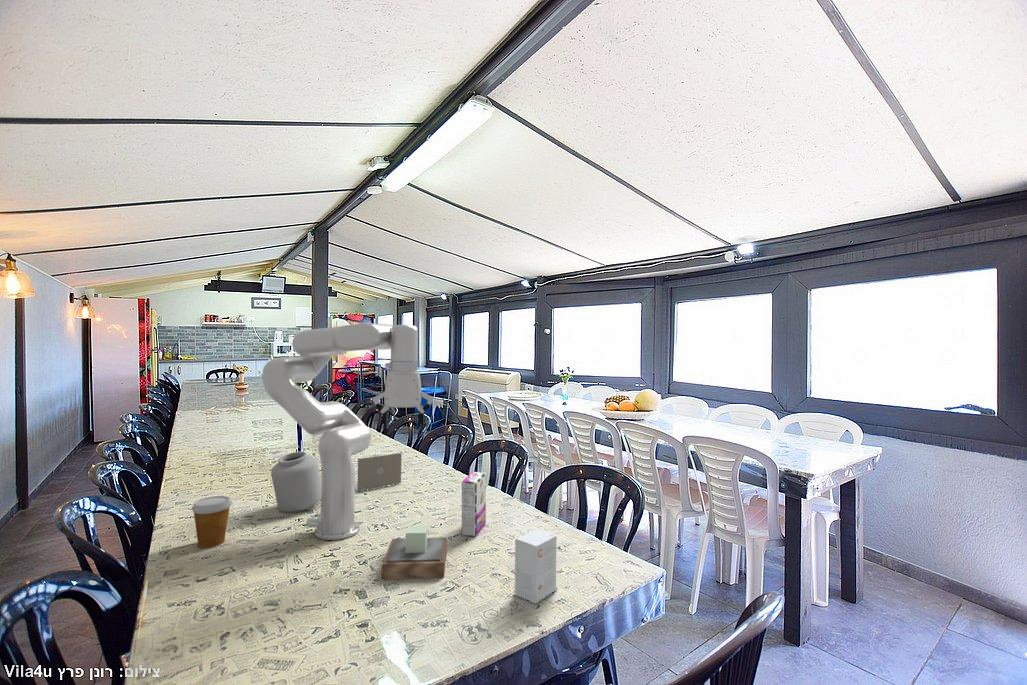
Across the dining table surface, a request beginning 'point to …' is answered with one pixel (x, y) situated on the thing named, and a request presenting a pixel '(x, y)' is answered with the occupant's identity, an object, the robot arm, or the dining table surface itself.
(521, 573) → the small box
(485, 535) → the dining table surface
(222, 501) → the disposable coffee cup
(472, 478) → the candy bar box
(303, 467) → the jar
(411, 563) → the walnut base
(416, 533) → the sage cube
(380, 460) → the laptop
